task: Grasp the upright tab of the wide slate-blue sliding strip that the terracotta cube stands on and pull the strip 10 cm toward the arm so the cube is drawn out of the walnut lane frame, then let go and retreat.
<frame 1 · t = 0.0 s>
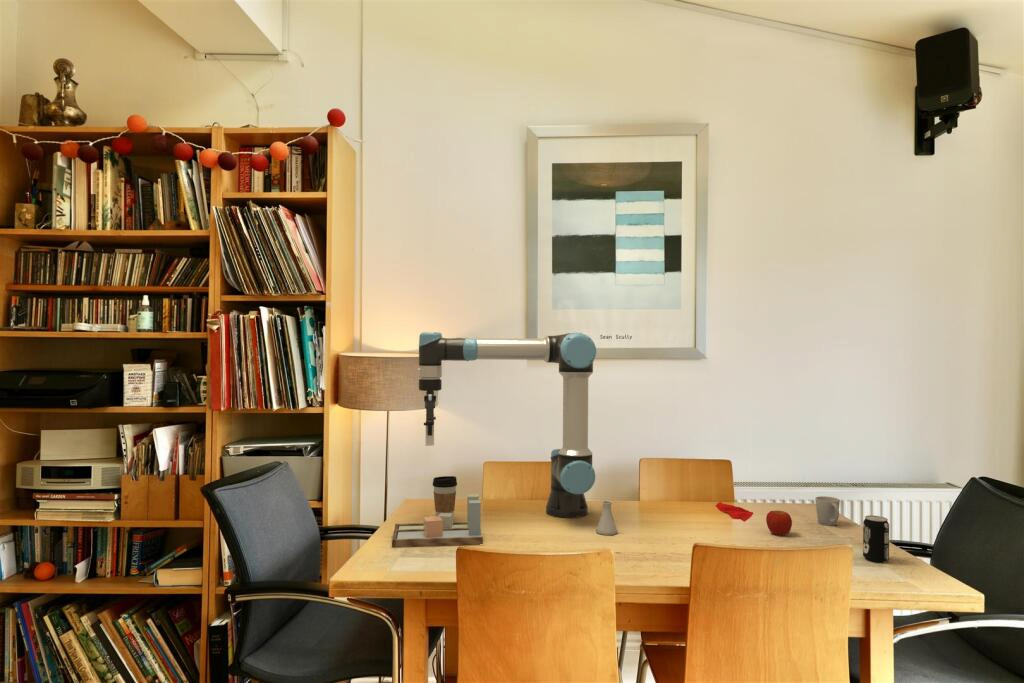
hand: (429, 442, 226), 28 cm above the table, fingers open, 13 cm apart
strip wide: (439, 521, 210), point 6 cm above the table, slide at 0.0 cm, touching terracotta cube
grey l-shaped bracket: (439, 514, 218), point 6 cm above the table, slide at 0.0 cm, touching grey cube
cup: (829, 525, 231), on the table
lane frame: (439, 538, 213), on the table
flask: (606, 533, 220), on the table
grey cube: (445, 527, 218), point 2 cm above the table, touching grey l-shaped bracket
cloth: (734, 514, 247), on the table
terracotta cube: (432, 534, 209), point 2 cm above the table, touching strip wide
beverage can: (875, 560, 194), on the table
coffee cup: (444, 521, 233), on the table
apple: (778, 534, 220), on the table
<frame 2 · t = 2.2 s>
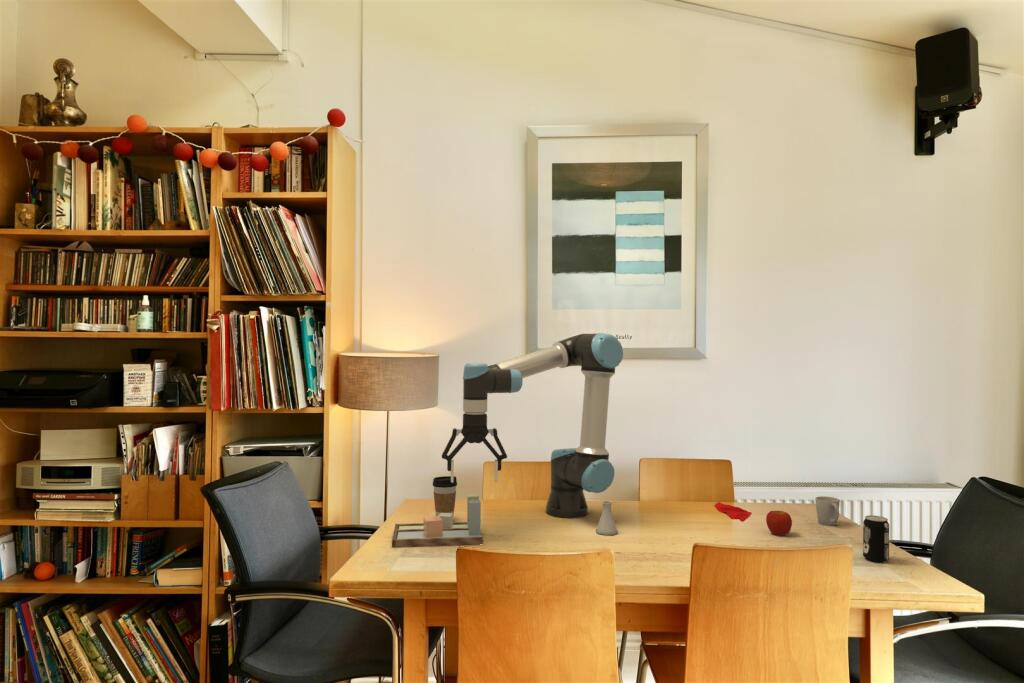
hand: (474, 481, 211), 18 cm above the table, fingers open, 13 cm apart
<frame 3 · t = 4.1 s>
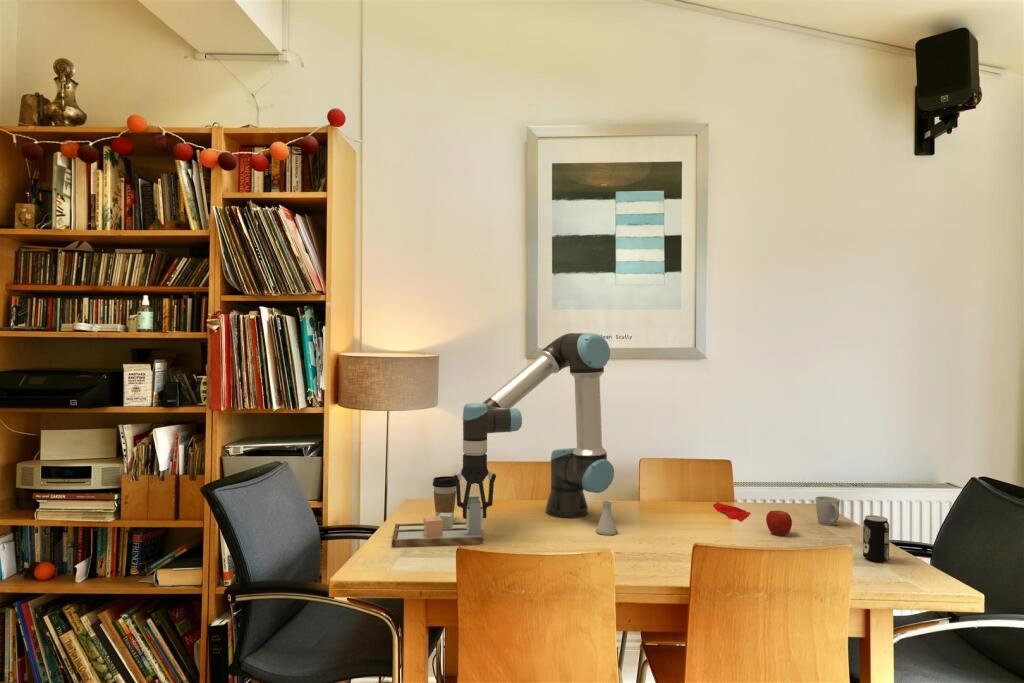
hand: (474, 528, 211), 4 cm above the table, fingers closed on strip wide, 3 cm apart
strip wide: (439, 521, 210), point 6 cm above the table, slide at 0.0 cm, touching gripper, terracotta cube
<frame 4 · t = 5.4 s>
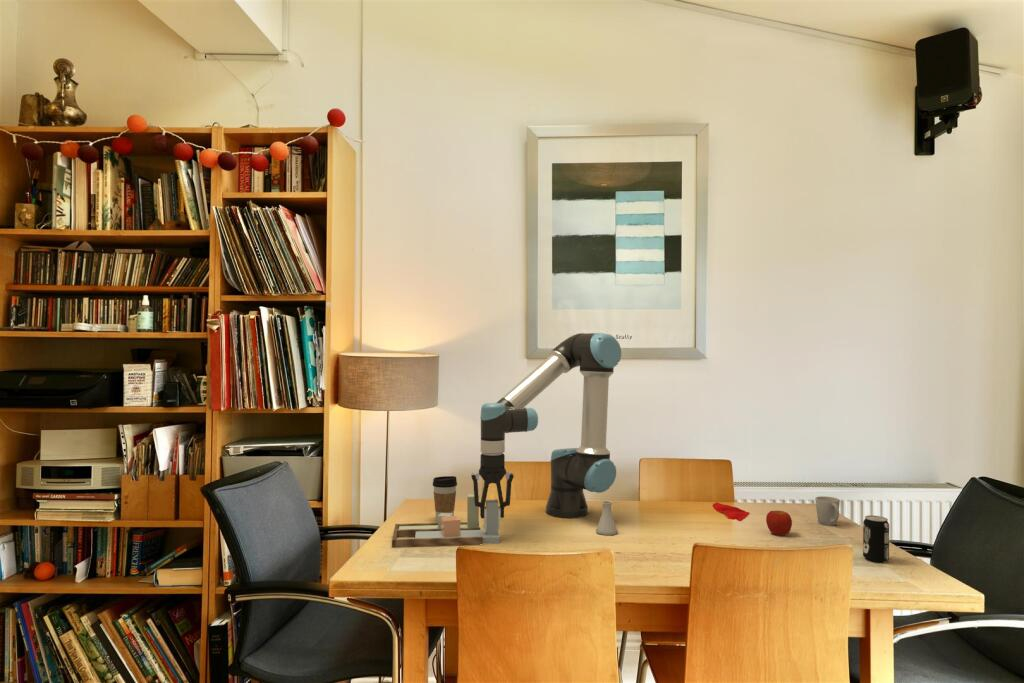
hand: (492, 528, 211), 4 cm above the table, fingers closed on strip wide, 3 cm apart
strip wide: (457, 521, 210), point 6 cm above the table, slide at 5.5 cm, touching gripper, terracotta cube
terracotta cube: (450, 534, 210), point 2 cm above the table, touching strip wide
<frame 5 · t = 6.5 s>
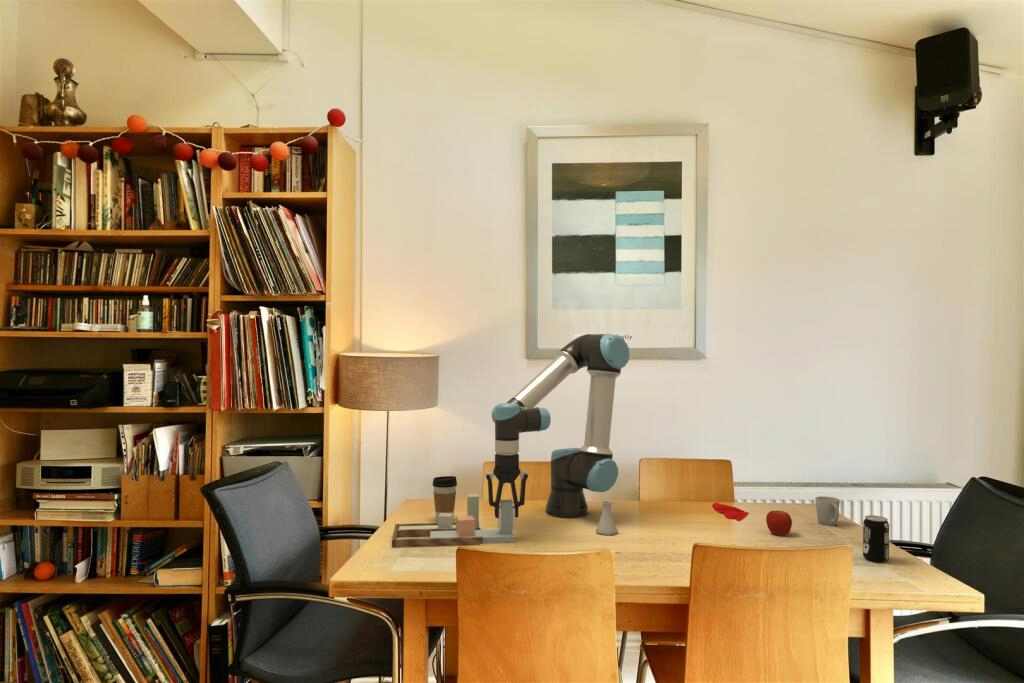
hand: (506, 527, 212), 4 cm above the table, fingers closed on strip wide, 3 cm apart
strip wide: (471, 520, 211), point 6 cm above the table, slide at 10.0 cm, touching gripper, terracotta cube
terracotta cube: (465, 534, 211), point 2 cm above the table, touching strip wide
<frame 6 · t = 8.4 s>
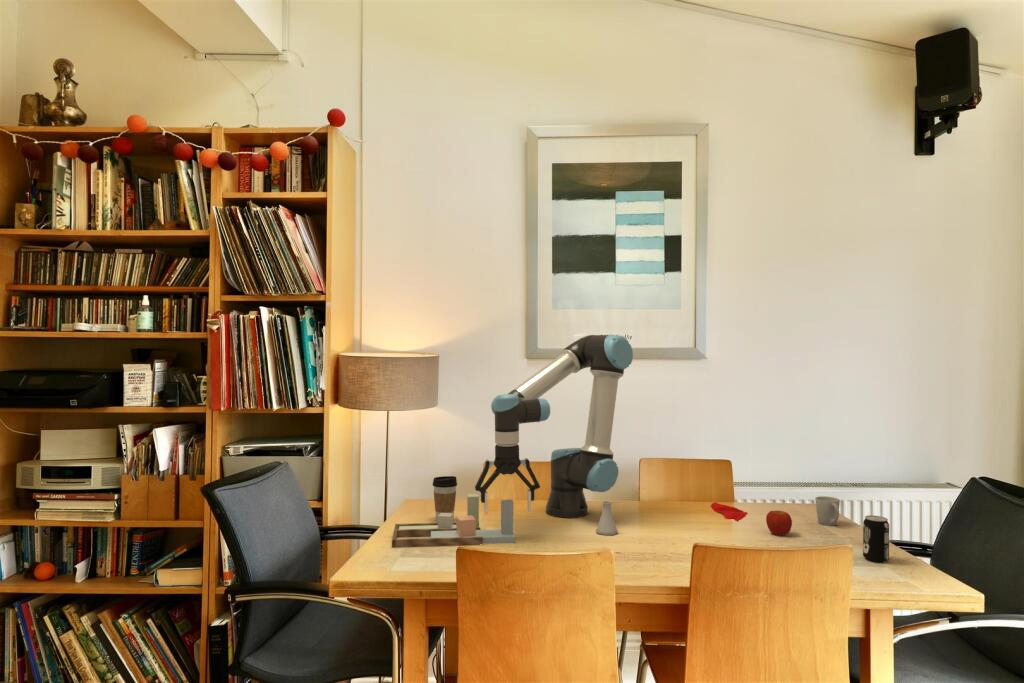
hand: (507, 512, 212), 8 cm above the table, fingers open, 13 cm apart
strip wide: (472, 520, 211), point 6 cm above the table, slide at 10.1 cm, touching terracotta cube
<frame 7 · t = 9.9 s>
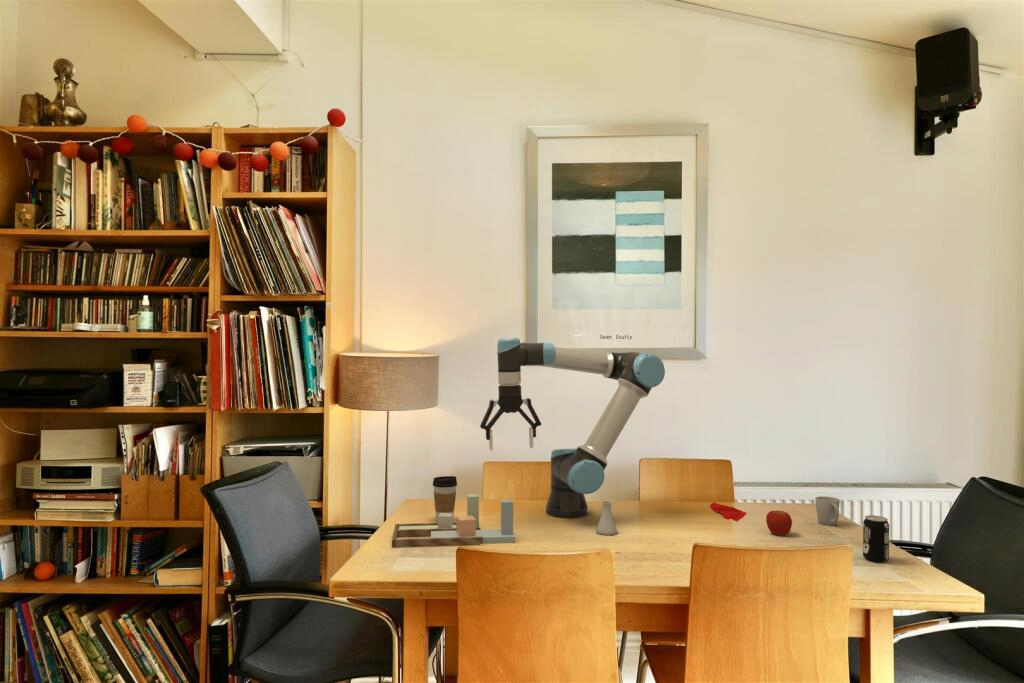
hand: (511, 448, 225), 26 cm above the table, fingers open, 13 cm apart
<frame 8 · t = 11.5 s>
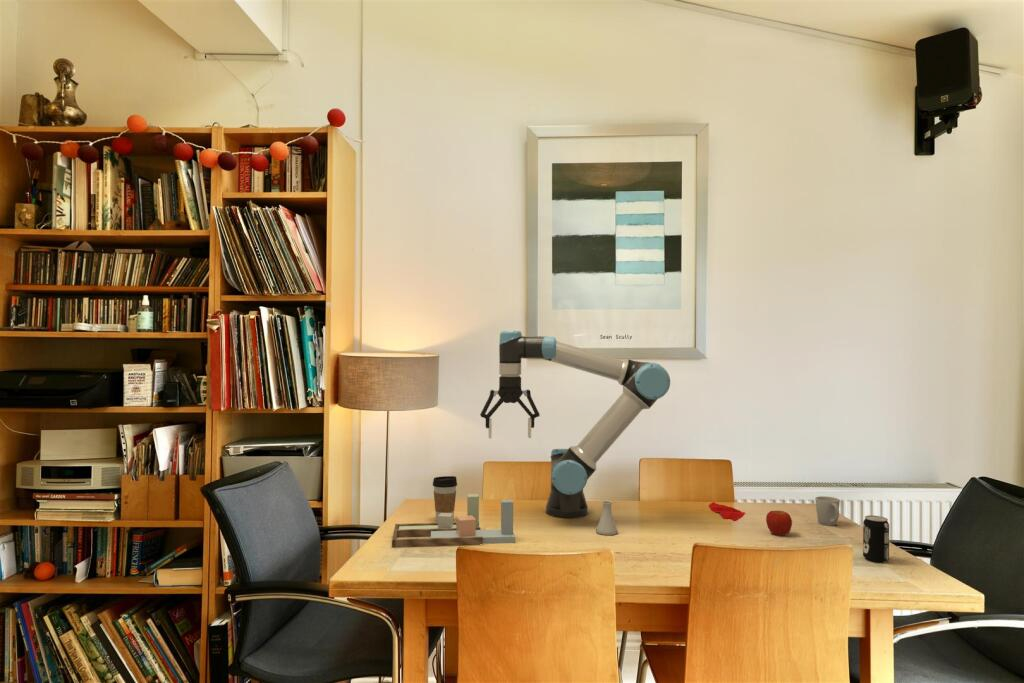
hand: (509, 437, 232), 29 cm above the table, fingers open, 13 cm apart
at the end: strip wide slide at 10.1 cm; terracotta cube inside the target area (0.2 cm from its centre), point 2.0 cm above the table; terracotta cube tilted 0° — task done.
